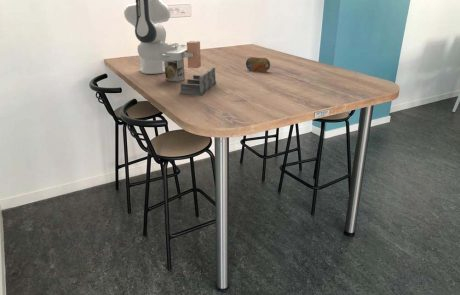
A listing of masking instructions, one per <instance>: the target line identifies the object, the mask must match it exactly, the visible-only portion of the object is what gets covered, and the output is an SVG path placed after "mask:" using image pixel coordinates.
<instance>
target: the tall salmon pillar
mask: <svg viewBox="0 0 460 295" xmlns="http://www.w3.org/2000/svg"><path fill="white" fill-rule="evenodd" d="M186 45H187V53H194V56H193V57H187V68H188V69H199V68H200V67H201V66H202V61H201V60H202V58H201V41H199V40H198V41H197V40H196V41H195V40H190V41H187V42H186Z"/></svg>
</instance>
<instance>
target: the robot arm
mask: <svg viewBox="0 0 460 295" xmlns="http://www.w3.org/2000/svg"><path fill="white" fill-rule="evenodd" d="M123 14H124V18H125V20H126V21H127V22H128V23H129V24H130V25H132V26H133V27H134V34H135V37H136V39H137V40H138V41H139V42H140V43H138V45H137V53H138V56H139V57H140V59H139V60H140V64H139V65H140V68H139V69H138V71H139V72H141V73H142V74H146V75H153V74H154V75H156V74H162V73H165V64H164V61H167V62H173V61H179V60H181V59H183V60H184V59H185V58H188V57H193V56H194V53H187V44H179V43H176V42H175V43H172V42H170V43H169V42H167V43H166V37H167V33H166V32H167V31H166V29H165V27H164V26H163V25H161V24H162V23H166V22H168V21H169V20H170V17H171V9H170V7H169V5H168V4H166V3H165V2H164V1H163V0H135V3H132V4H127V5H126V6H125V8H124V11H123Z"/></svg>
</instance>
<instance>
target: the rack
mask: <svg viewBox="0 0 460 295" xmlns="http://www.w3.org/2000/svg"><path fill="white" fill-rule="evenodd" d="M186 81H187V83H180V89H179V92H180V94H183V95H195V96H196V95H198V96H204V95H206V93H207V92H209V90H211V89H212V88H214V86H216V84H217V81H216V67H215V66H212V67H211V68H210V69H208V70H206V71H205V72H204V73H202V74H200V75H199V74H197V75H196V74H194V75H192V79H191V78H190V79H189V78H187V79H186Z"/></svg>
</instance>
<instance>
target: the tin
mask: <svg viewBox="0 0 460 295" xmlns="http://www.w3.org/2000/svg"><path fill="white" fill-rule="evenodd" d="M245 66H246V68H247V70H248V71H250V72H256V73H265V72H266V73H267V71H269V69H271V68H270V67H271V62H270V61H269V59H268V58H266V57H257V56H253V57H252V56H251V57H249V58H247V60H246V62H245Z"/></svg>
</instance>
